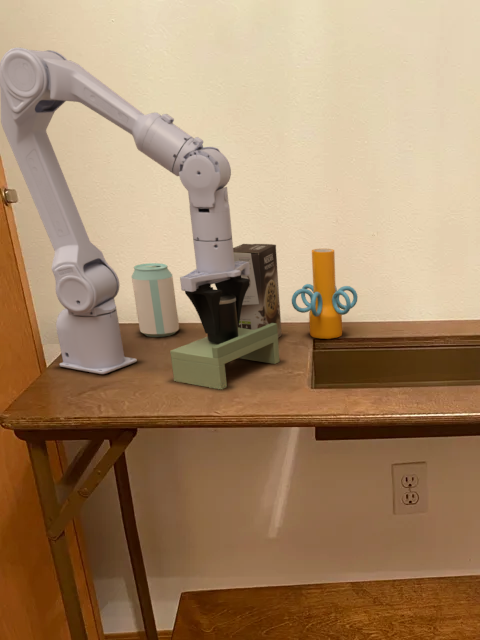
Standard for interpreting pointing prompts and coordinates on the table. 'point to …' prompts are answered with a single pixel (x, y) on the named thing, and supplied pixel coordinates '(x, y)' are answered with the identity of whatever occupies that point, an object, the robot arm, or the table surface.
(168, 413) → the table surface
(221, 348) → the shelf
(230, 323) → the canister
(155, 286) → the can
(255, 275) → the coffee box
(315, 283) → the orange and blue post
